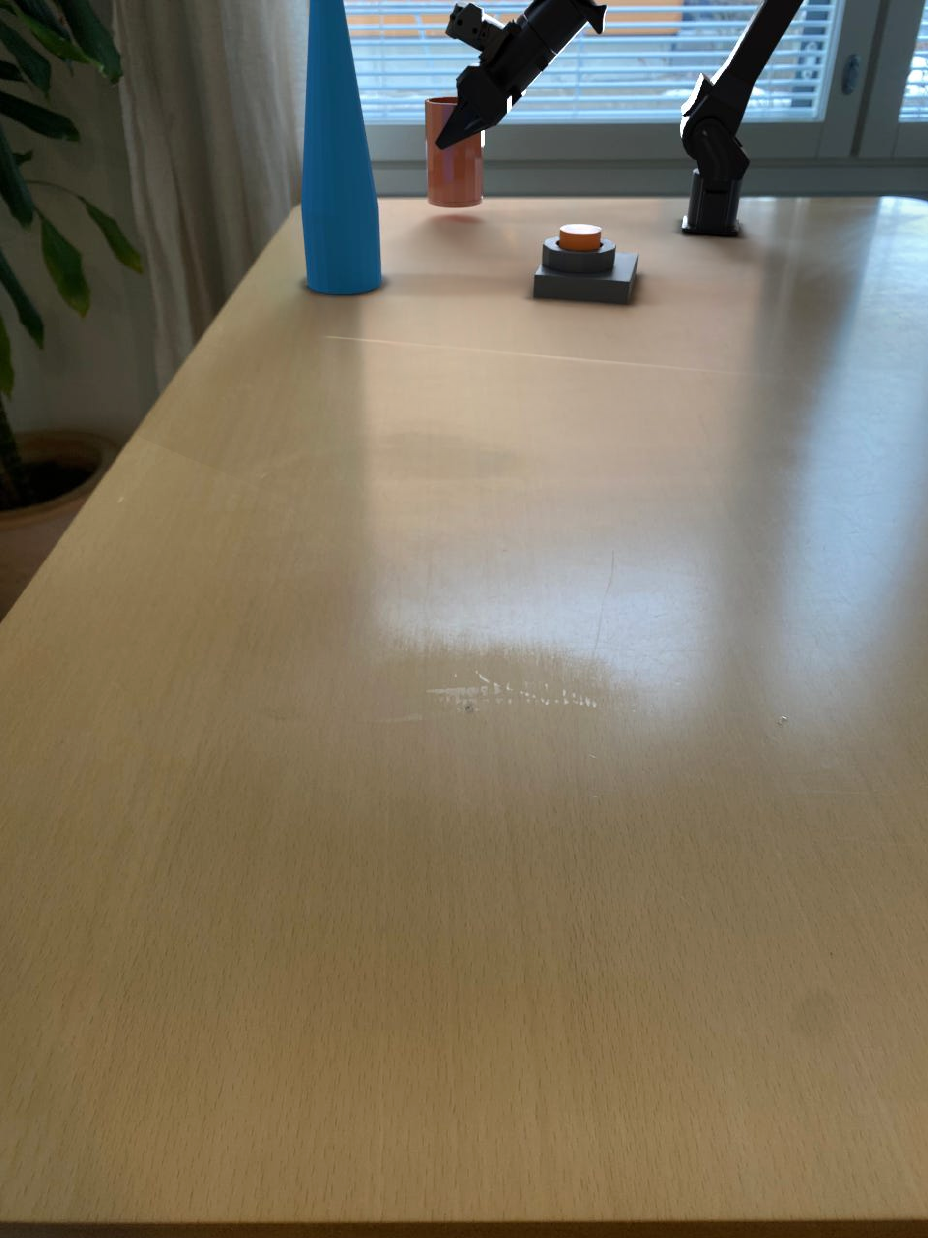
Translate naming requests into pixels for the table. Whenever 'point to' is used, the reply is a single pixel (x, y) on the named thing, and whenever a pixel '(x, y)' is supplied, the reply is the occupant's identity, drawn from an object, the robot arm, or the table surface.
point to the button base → (585, 273)
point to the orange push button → (580, 237)
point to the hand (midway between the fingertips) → (443, 141)
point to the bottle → (336, 164)
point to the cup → (452, 160)
